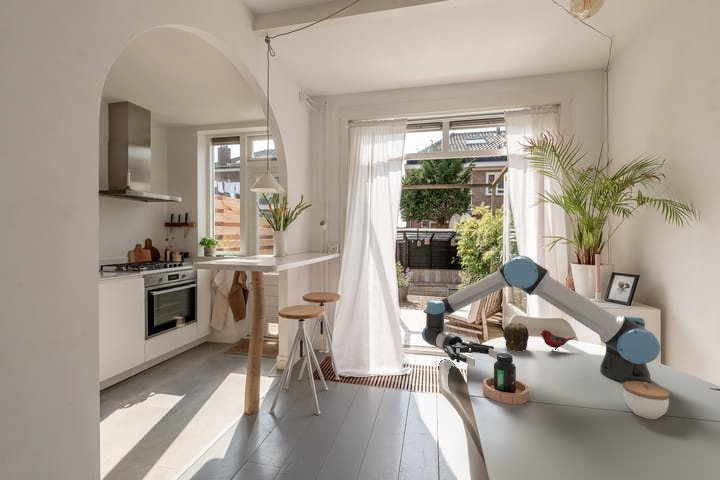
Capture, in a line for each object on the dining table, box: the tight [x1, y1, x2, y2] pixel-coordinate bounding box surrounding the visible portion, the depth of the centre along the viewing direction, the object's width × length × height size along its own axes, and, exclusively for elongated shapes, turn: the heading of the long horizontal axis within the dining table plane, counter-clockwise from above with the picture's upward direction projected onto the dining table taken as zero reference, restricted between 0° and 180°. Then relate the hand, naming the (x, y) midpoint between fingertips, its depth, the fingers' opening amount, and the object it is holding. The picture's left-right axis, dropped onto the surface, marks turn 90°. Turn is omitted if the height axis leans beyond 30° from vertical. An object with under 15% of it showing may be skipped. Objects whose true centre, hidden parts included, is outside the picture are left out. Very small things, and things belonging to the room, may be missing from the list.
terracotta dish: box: [482, 376, 530, 405], centre depth 115 cm, size 14×14×3 cm
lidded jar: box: [622, 381, 671, 420], centre depth 102 cm, size 11×11×9 cm
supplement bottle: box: [493, 352, 517, 393], centre depth 115 cm, size 7×7×12 cm
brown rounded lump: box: [502, 322, 530, 352], centre depth 163 cm, size 11×11×12 cm
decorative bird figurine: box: [540, 329, 576, 350], centre depth 160 cm, size 3×18×10 cm, turn 96°
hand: (489, 359), depth 121 cm, fingers open, 13 cm apart
